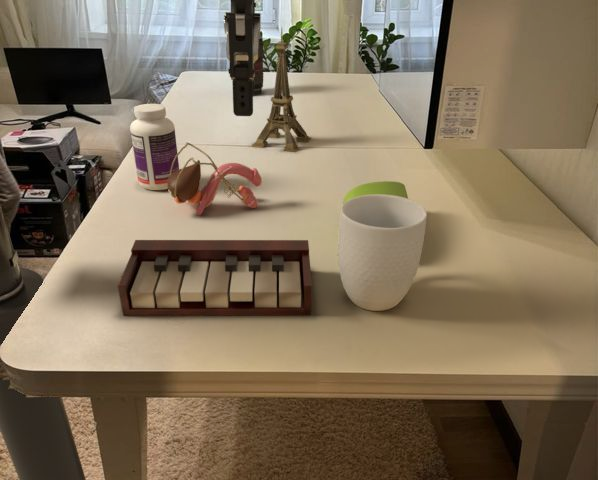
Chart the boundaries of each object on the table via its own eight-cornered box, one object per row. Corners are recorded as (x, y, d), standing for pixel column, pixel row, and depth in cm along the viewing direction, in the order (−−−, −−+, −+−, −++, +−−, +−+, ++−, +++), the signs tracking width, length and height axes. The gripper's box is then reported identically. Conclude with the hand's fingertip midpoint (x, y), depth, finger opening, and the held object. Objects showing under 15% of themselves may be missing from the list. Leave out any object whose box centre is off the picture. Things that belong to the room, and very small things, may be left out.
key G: (230, 301, 78) (229, 292, 77) (234, 270, 85) (233, 261, 84) (252, 301, 78) (252, 292, 77) (254, 270, 85) (254, 261, 84)
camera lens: (263, 96, 173) (262, 39, 164) (235, 96, 173) (233, 38, 164) (264, 90, 180) (263, 34, 171) (237, 89, 179) (235, 34, 171)
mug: (369, 262, 92) (377, 179, 84) (437, 282, 87) (452, 196, 79) (319, 304, 81) (323, 214, 74) (393, 330, 77) (405, 236, 69)
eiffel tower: (251, 146, 136) (248, 22, 121) (270, 133, 144) (268, 16, 129) (294, 152, 133) (296, 26, 118) (311, 138, 141) (314, 19, 126)
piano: (122, 315, 78) (116, 282, 75) (140, 270, 88) (135, 239, 85) (311, 315, 79) (312, 282, 76) (307, 270, 89) (308, 239, 86)
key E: (180, 301, 78) (179, 292, 77) (188, 270, 85) (187, 261, 84) (203, 301, 78) (202, 292, 77) (209, 270, 85) (208, 261, 84)
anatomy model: (278, 195, 104) (217, 133, 95) (223, 248, 107) (159, 194, 98) (266, 175, 112) (208, 116, 103) (215, 225, 115) (155, 173, 106)
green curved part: (343, 161, 101) (362, 218, 86) (411, 173, 103) (441, 231, 88) (331, 203, 106) (348, 264, 90) (396, 214, 108) (423, 275, 93)
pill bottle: (185, 178, 119) (177, 102, 111) (174, 193, 113) (165, 114, 104) (145, 176, 120) (135, 100, 111) (133, 191, 113) (120, 112, 105)
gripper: (209, -63, 67) (217, 90, 77) (197, -58, 56) (208, 121, 65) (276, -61, 67) (275, 91, 77) (278, -55, 56) (276, 123, 66)
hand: (244, 105), depth 71 cm, fingers open, 8 cm apart
